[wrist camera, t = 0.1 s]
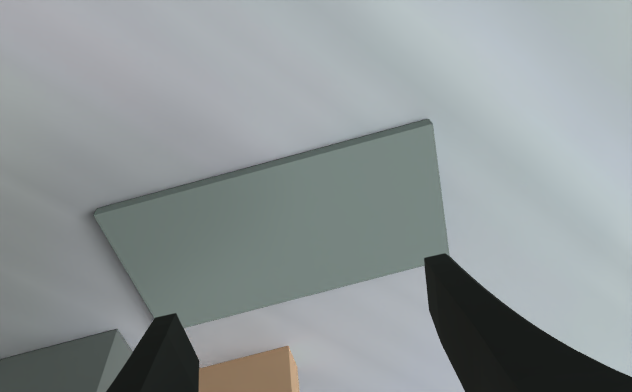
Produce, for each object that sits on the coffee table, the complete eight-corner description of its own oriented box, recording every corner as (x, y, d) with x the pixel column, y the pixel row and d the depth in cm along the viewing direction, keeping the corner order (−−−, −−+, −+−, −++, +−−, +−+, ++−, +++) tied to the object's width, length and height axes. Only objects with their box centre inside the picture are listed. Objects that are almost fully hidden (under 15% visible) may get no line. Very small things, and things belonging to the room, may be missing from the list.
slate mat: (446, 252, 26) (449, 258, 26) (165, 325, 27) (163, 333, 26) (428, 118, 22) (432, 123, 22) (97, 208, 23) (93, 215, 22)
